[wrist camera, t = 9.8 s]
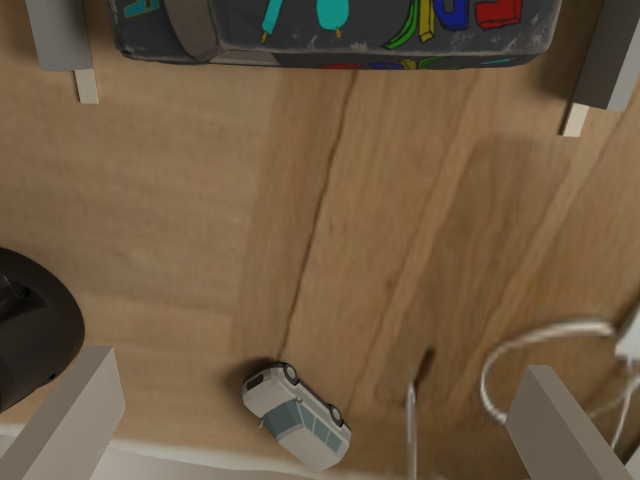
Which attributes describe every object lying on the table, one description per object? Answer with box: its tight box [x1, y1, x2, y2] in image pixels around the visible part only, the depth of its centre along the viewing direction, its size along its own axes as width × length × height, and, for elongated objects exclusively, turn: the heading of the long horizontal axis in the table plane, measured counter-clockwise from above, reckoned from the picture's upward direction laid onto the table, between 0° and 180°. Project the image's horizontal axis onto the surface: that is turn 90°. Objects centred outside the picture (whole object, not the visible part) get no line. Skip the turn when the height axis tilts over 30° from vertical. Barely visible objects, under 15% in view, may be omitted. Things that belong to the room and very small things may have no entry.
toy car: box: [242, 363, 351, 473], centre depth 41 cm, size 6×13×5 cm, turn 39°
